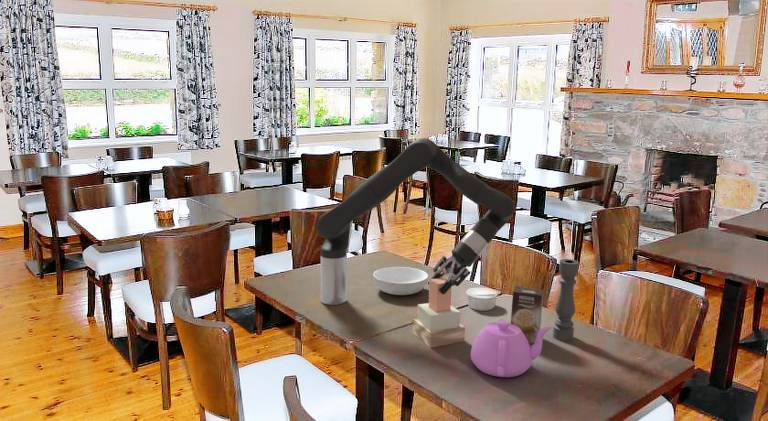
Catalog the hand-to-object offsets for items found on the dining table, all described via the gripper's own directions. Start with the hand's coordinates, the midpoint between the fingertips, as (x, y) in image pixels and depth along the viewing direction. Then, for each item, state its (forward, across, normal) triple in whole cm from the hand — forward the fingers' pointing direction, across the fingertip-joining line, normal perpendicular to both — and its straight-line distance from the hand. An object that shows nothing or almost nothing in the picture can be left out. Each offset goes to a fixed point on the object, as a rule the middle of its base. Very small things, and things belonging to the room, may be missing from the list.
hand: (435, 289), depth 192 cm
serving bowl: (+5, -43, +19) cm, 47 cm away
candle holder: (-16, +15, +39) cm, 45 cm away
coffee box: (-7, +11, +31) cm, 33 cm away
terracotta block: (+3, 0, +6) cm, 7 cm away
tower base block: (+10, -1, +13) cm, 17 cm away
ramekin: (-9, -18, +33) cm, 39 cm away
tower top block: (+7, 0, +10) cm, 12 cm away
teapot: (+5, +26, +19) cm, 32 cm away
